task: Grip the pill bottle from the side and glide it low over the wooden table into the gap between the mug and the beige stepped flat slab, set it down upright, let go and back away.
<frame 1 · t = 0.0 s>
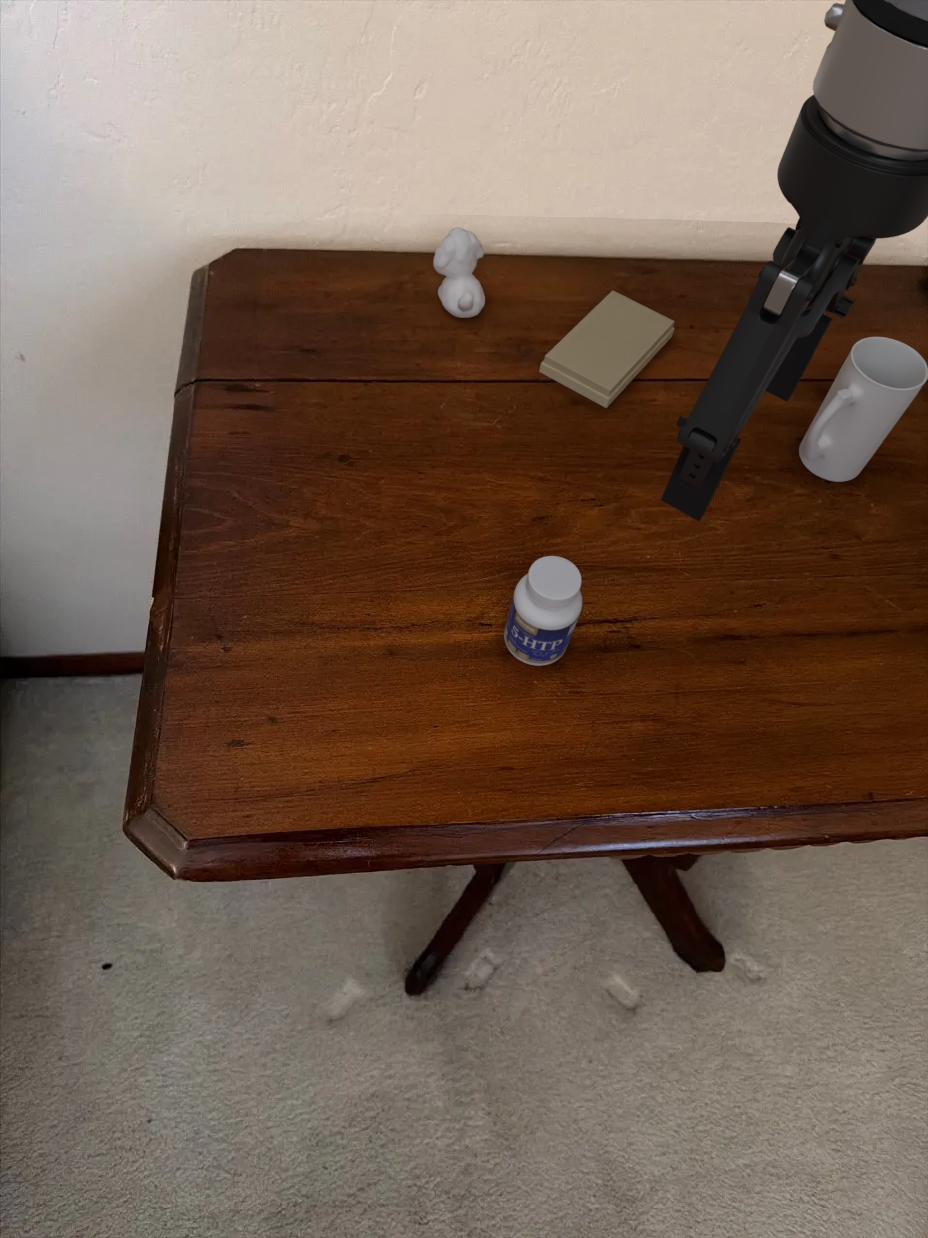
hand: (729, 445, 58), 20 cm above the table, tool pointing down, fingers open, 13 cm apart
pill bottle: (535, 640, 72), on the table
figurine: (459, 307, 94), on the table
mug: (817, 466, 86), on the table
beige stepped flat slab: (607, 354, 92), on the table
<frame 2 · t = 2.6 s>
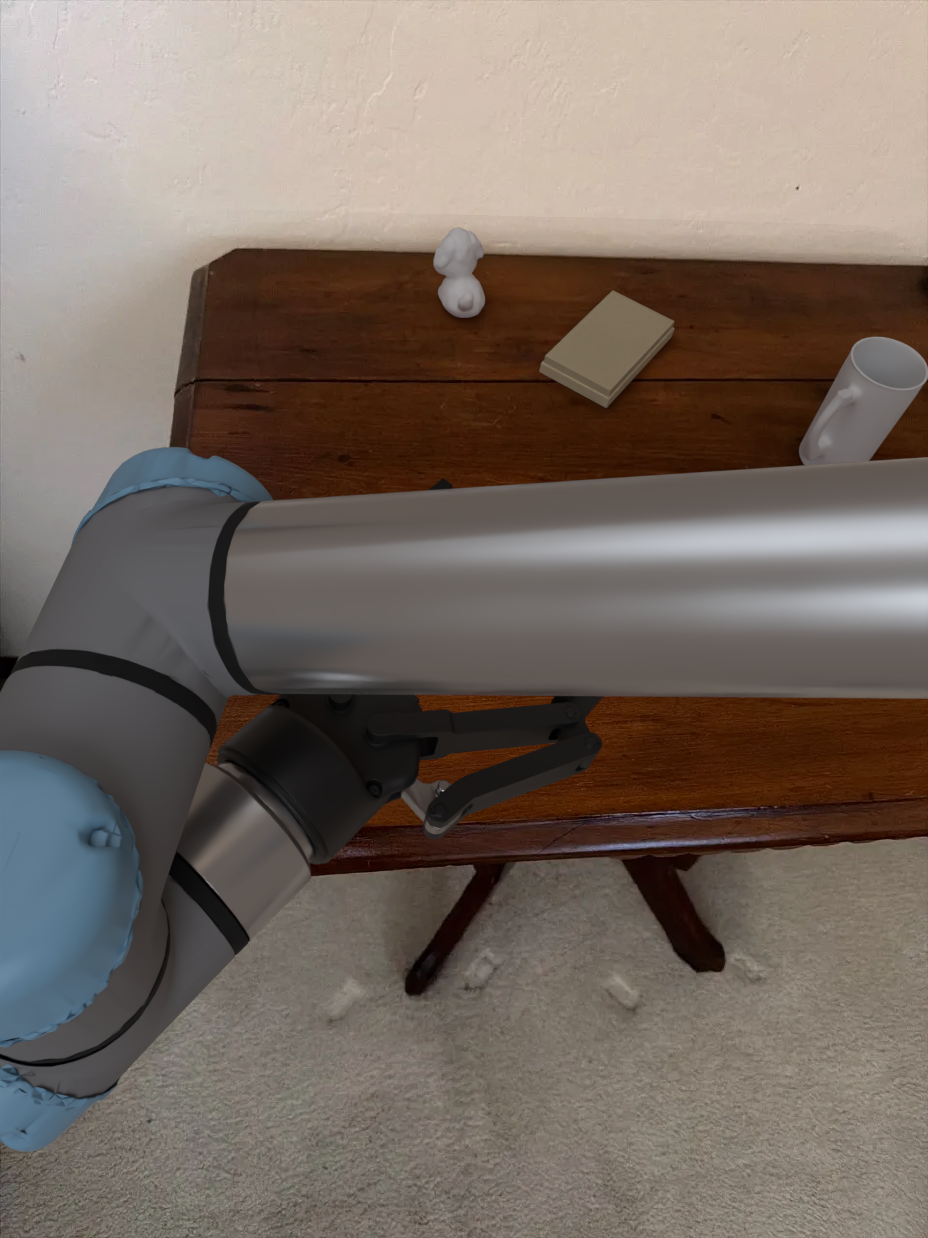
hand: (532, 560, 52), 19 cm above the table, tool horizontal, fingers open, 13 cm apart
nothing on the table moved.
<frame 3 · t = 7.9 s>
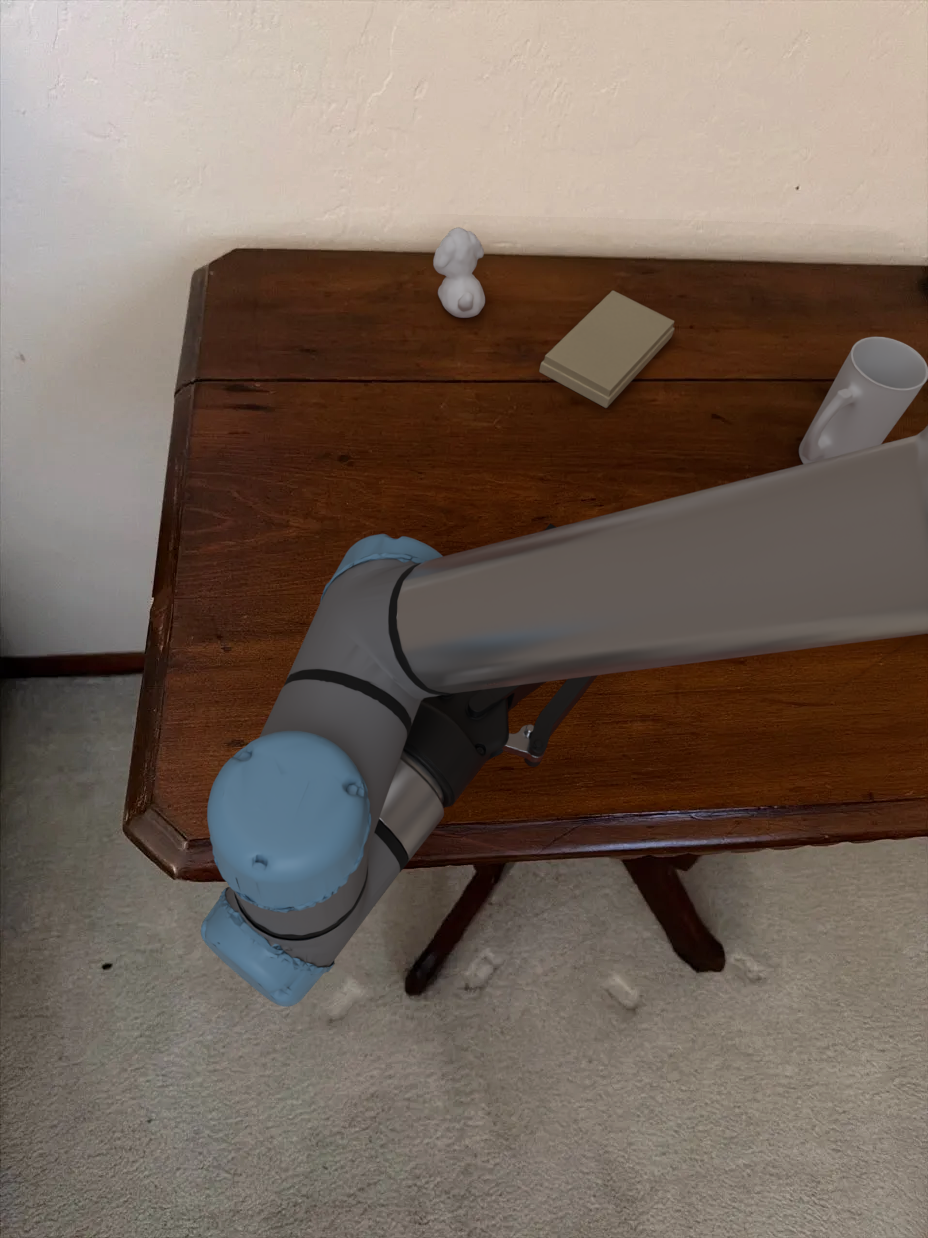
hand: (583, 555, 69), 6 cm above the table, tool horizontal, fingers closed on pill bottle, 5 cm apart
pill bottle: (535, 640, 72), on the table, touching gripper
everything else where it was.
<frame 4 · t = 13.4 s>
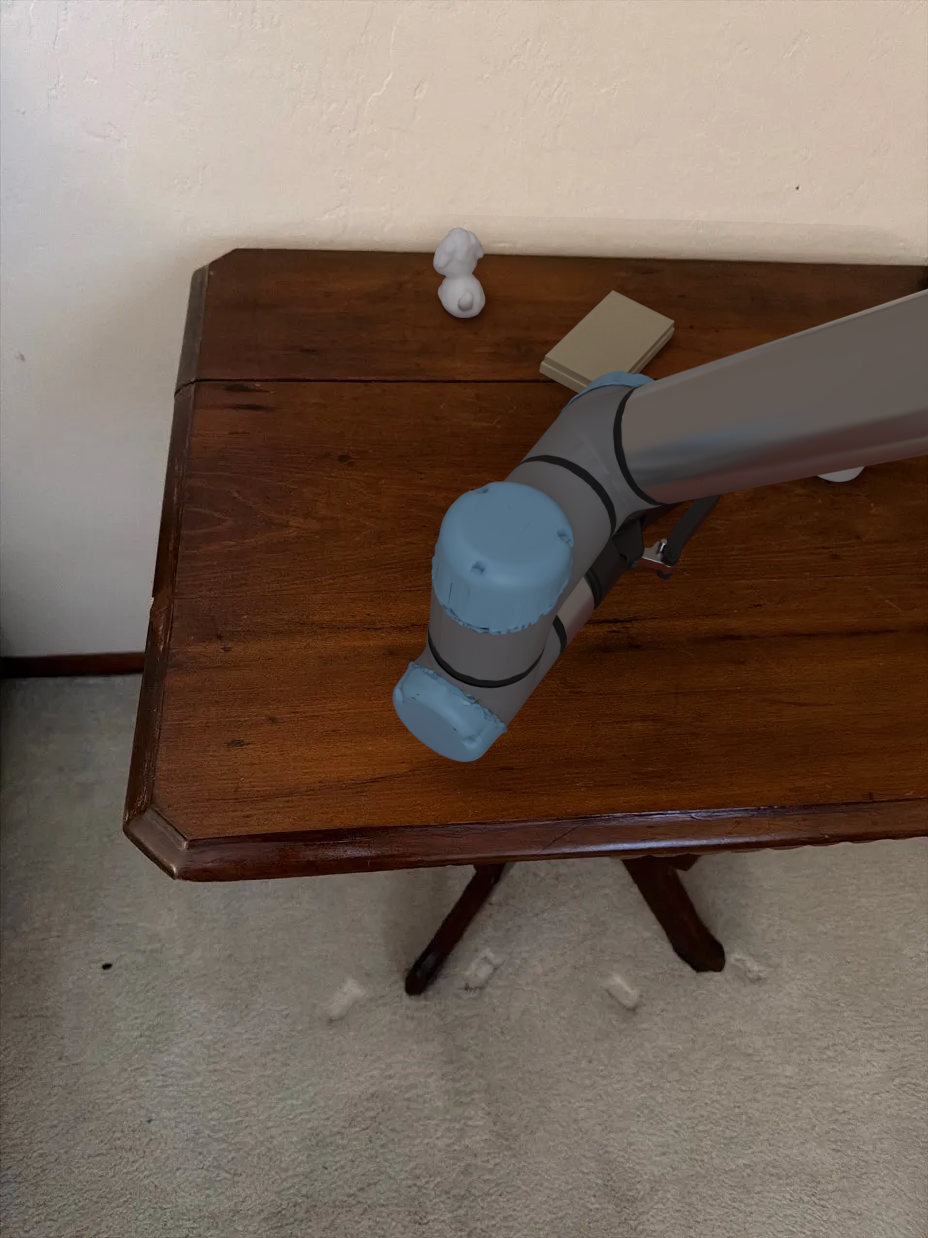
hand: (694, 408, 76), 8 cm above the table, tool horizontal, fingers closed on pill bottle, 5 cm apart
pill bottle: (646, 491, 79), point 2 cm above the table, touching gripper
everything else where it was.
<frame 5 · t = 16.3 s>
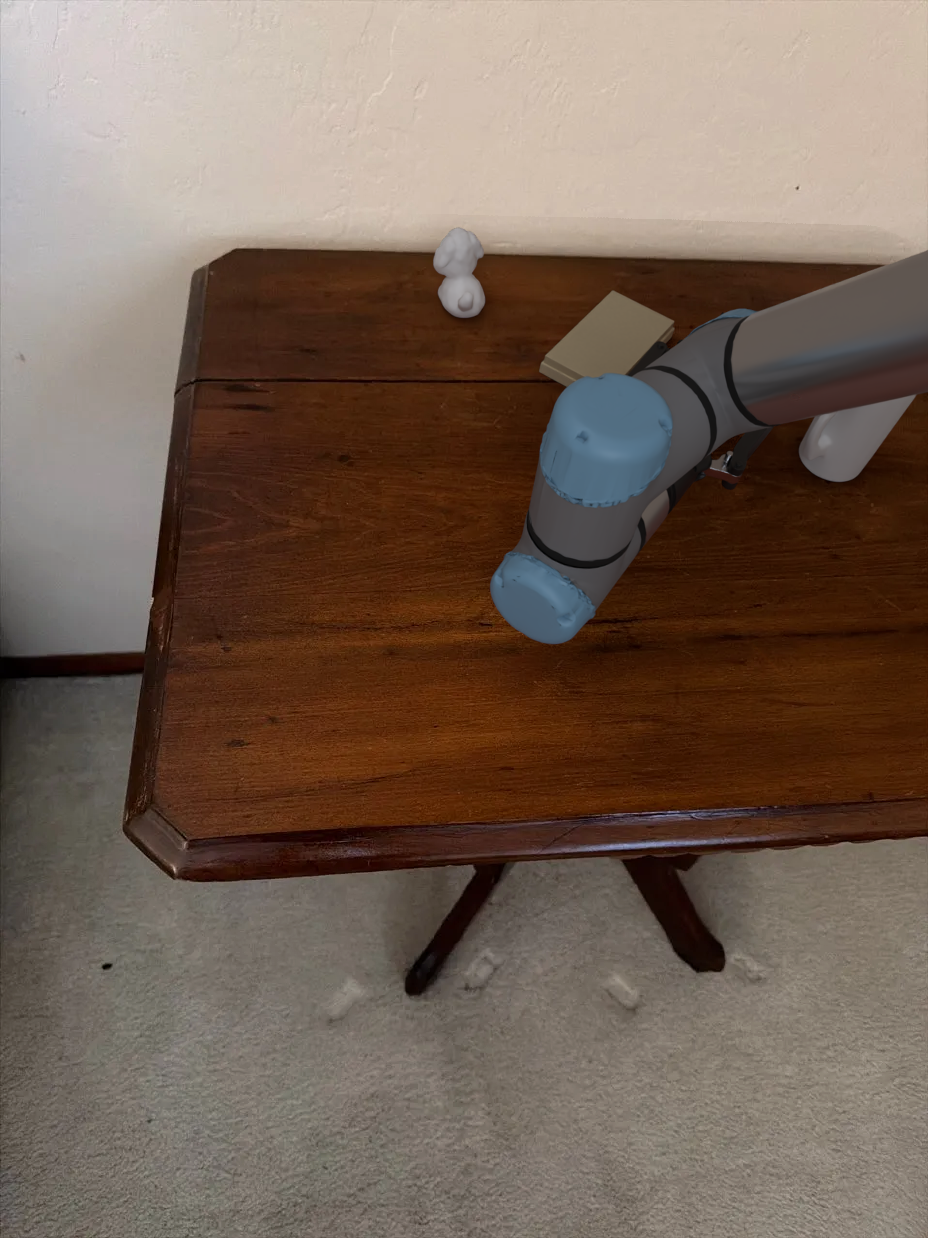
hand: (749, 340, 82), 8 cm above the table, tool horizontal, fingers closed on pill bottle, 5 cm apart
pill bottle: (704, 419, 84), point 2 cm above the table, touching gripper
everything else where it was.
when the fingers open (6 cm above the table, at t = 18.8 s): pill bottle stays where it is, on the table.
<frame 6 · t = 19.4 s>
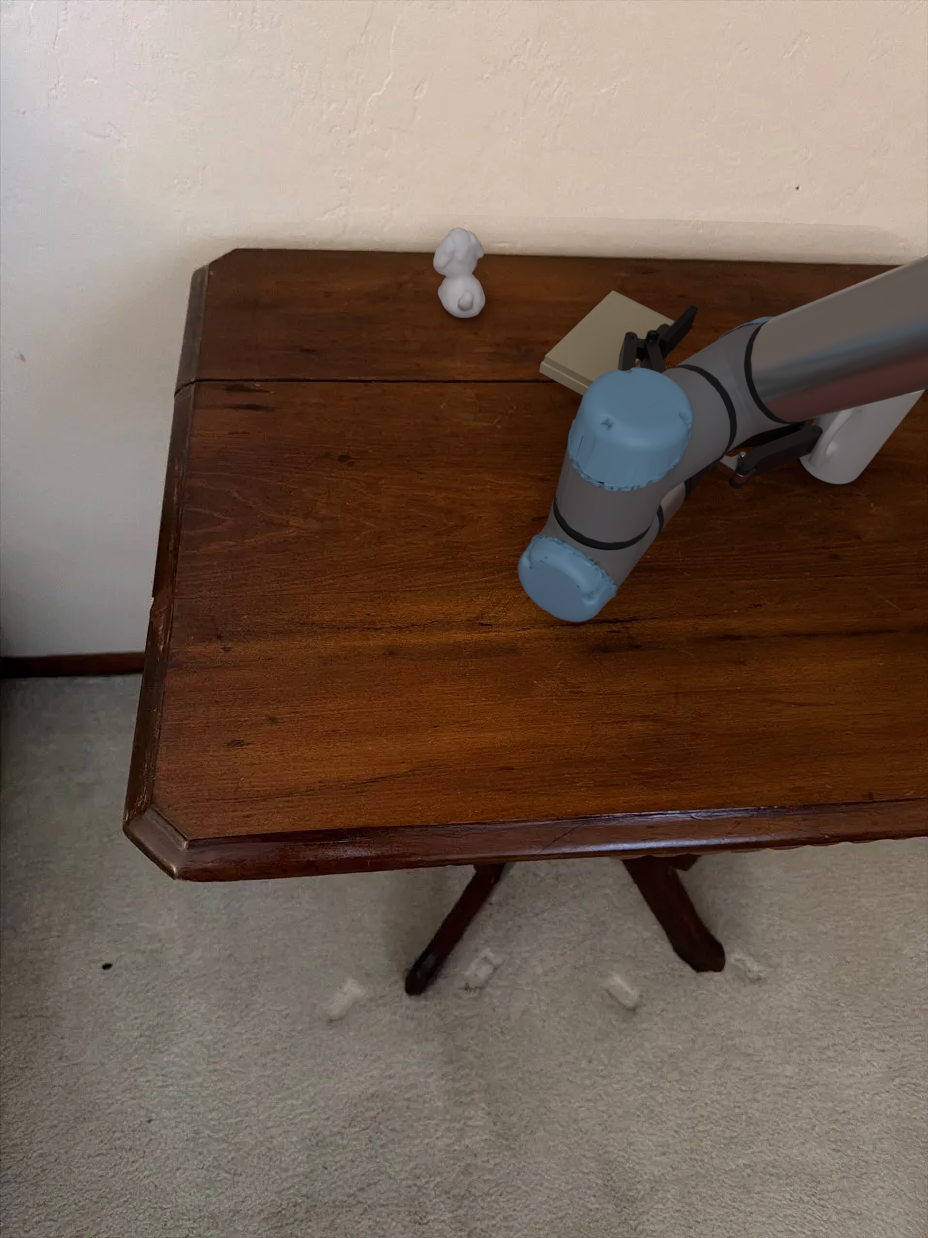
hand: (752, 347, 85), 6 cm above the table, tool horizontal, fingers open, 13 cm apart
pill bottle: (717, 413, 88), on the table
mug: (818, 469, 85), on the table, touching hand
everything else where it was.
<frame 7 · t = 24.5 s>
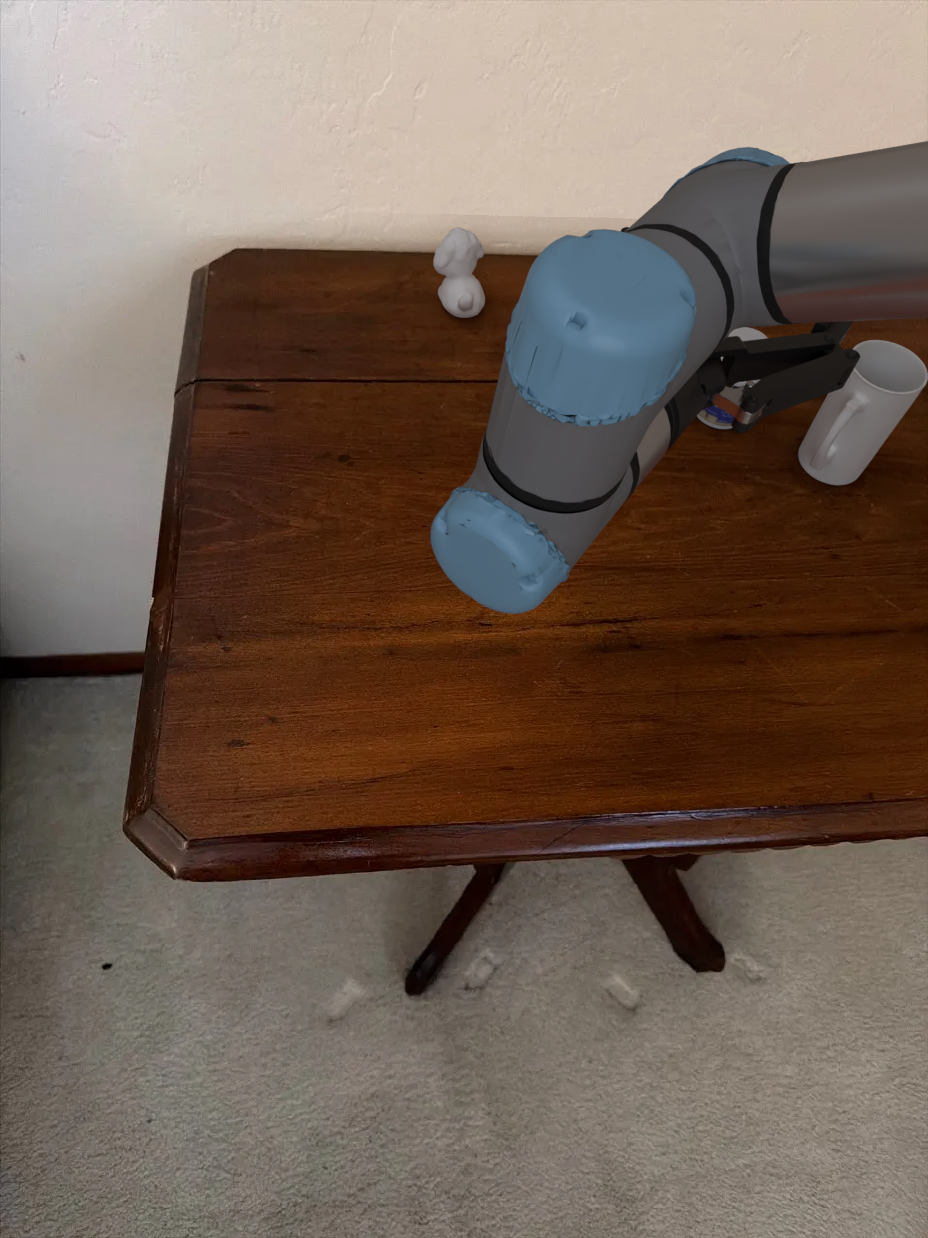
hand: (762, 254, 64), 23 cm above the table, tool horizontal, fingers open, 13 cm apart
mug: (819, 471, 85), on the table
everything else where it was.
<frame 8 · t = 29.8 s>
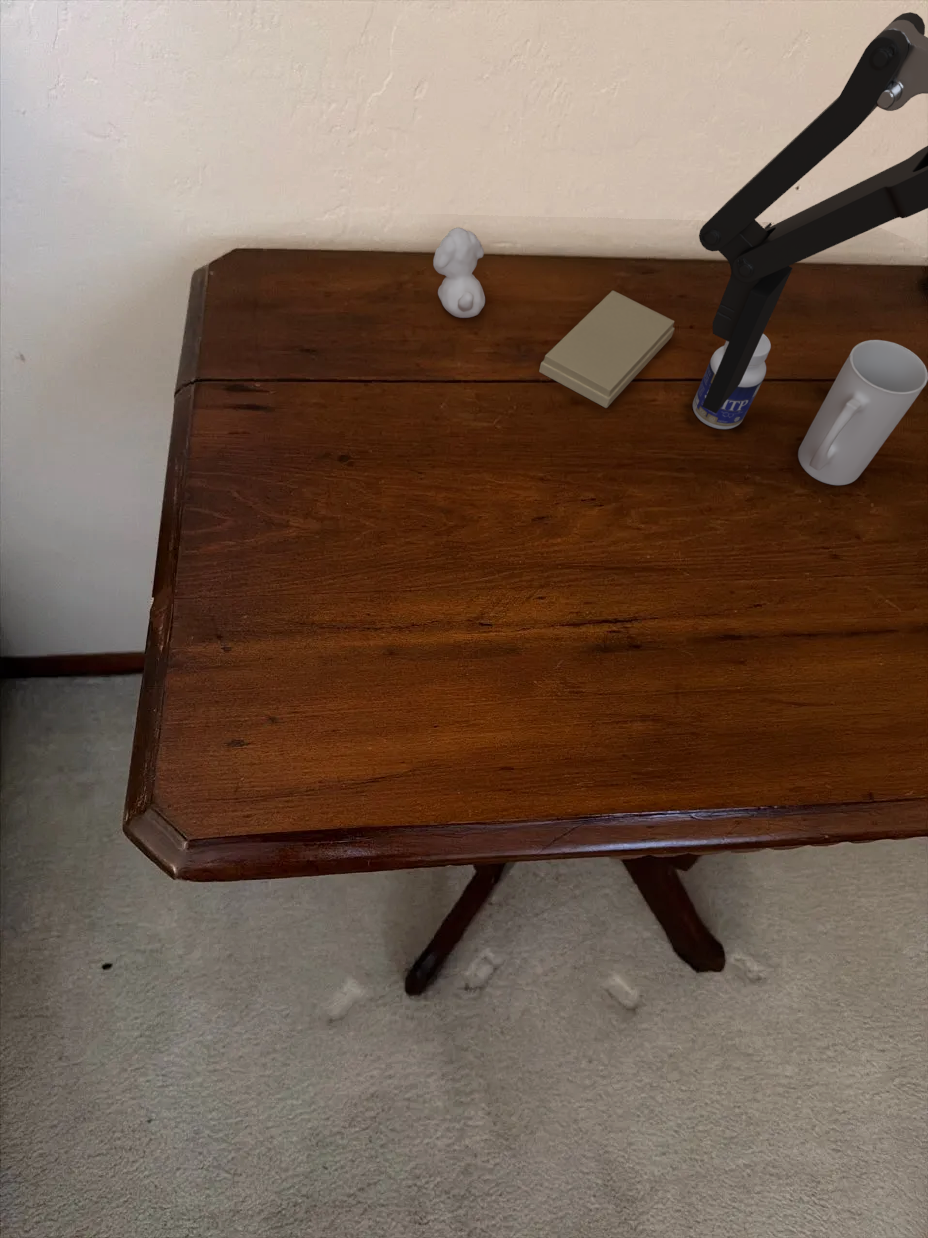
hand: (850, 462, 41), 32 cm above the table, tool pointing down, fingers open, 13 cm apart
nothing on the table moved.
at the end: pill bottle inside the target area on the table beside the beige stepped flat slab (0.0 cm from its centre), on the table; pill bottle tilted 0°; the gripper is holding nothing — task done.
